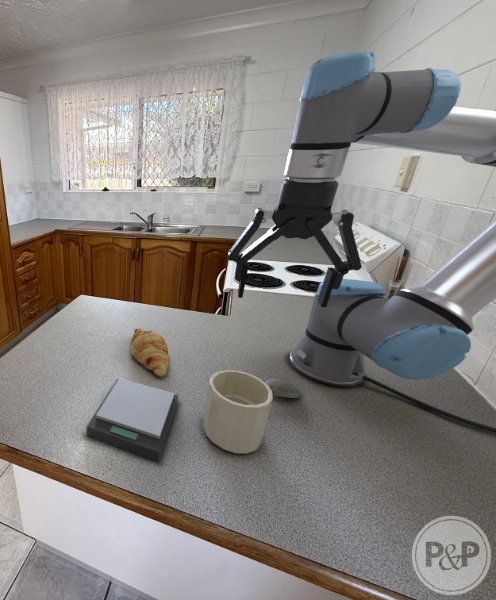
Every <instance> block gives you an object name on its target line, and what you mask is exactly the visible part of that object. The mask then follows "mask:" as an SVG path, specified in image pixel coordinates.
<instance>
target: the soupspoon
mask: <svg viewBox="0 0 496 600" xmlns="http://www.w3.org/2000/svg"><path fill="white" fill-rule="evenodd" d="M264 382H265V383H266V384H267V385H268V386H269V388H270V389H271V390H272V396H275V397H281V398H282V397H283V398H287V399H288V398H290V399H295V398H300V394H299V392H298V391H297V390H296V389H295V388H294V387H293V386H292V385H290V384H289V383H287V382H286V381H284V380H281V379H276V378H269V379H266V380H265V381H264Z"/></svg>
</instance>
